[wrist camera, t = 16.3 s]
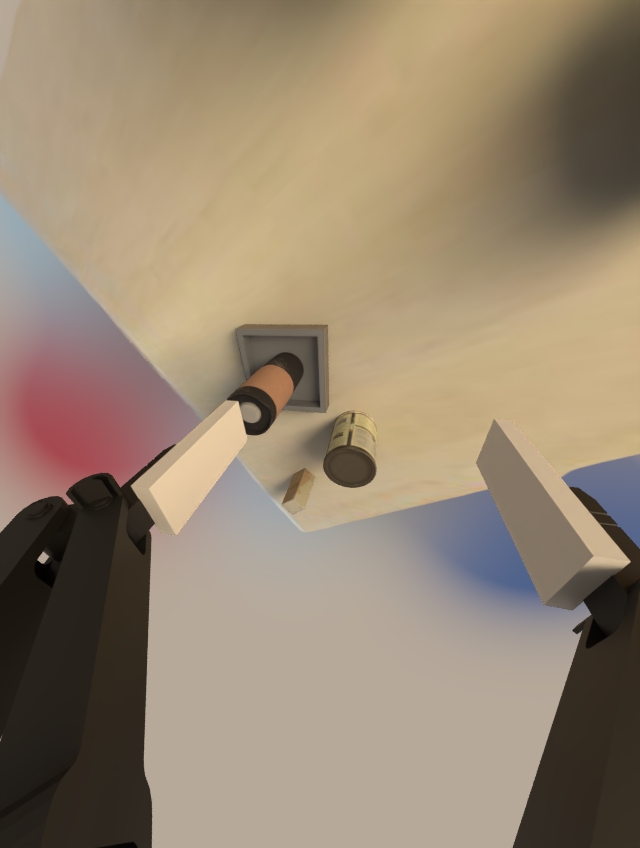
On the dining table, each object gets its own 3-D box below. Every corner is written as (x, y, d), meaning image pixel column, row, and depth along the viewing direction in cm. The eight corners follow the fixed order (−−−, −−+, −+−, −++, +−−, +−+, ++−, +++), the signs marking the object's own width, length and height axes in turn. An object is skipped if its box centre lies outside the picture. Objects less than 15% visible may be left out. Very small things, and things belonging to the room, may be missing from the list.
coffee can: (362, 452, 63) (359, 495, 51) (327, 434, 62) (314, 473, 51) (385, 423, 57) (387, 464, 46) (346, 402, 56) (337, 439, 45)
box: (305, 468, 70) (294, 498, 61) (315, 477, 71) (306, 509, 62) (292, 475, 73) (280, 505, 64) (302, 484, 74) (292, 515, 65)
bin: (244, 324, 51) (235, 328, 48) (327, 324, 48) (323, 329, 45) (258, 399, 61) (251, 407, 57) (329, 404, 57) (325, 413, 54)
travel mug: (265, 371, 55) (216, 417, 38) (281, 343, 51) (234, 381, 34) (294, 391, 56) (258, 444, 40) (311, 365, 52) (280, 413, 36)
